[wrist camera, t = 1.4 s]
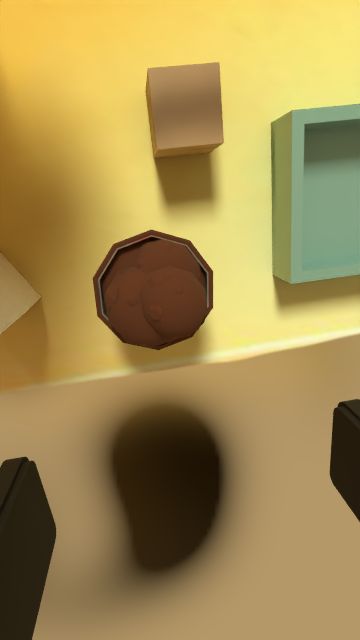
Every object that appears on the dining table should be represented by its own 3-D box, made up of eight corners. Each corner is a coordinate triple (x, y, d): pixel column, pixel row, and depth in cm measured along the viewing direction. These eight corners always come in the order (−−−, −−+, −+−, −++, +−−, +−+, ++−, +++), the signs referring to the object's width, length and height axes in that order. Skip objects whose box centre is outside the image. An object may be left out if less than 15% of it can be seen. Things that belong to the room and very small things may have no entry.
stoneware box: (271, 122, 35) (292, 110, 30) (414, 108, 36) (456, 94, 32) (272, 274, 41) (290, 284, 36) (397, 257, 42) (430, 264, 37)
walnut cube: (145, 91, 33) (147, 68, 27) (205, 86, 33) (219, 62, 28) (153, 158, 35) (157, 149, 29) (209, 152, 35) (223, 142, 30)
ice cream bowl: (155, 203, 36) (168, 203, 22) (214, 280, 40) (257, 322, 26) (82, 264, 37) (51, 301, 23) (146, 334, 41) (152, 402, 27)
